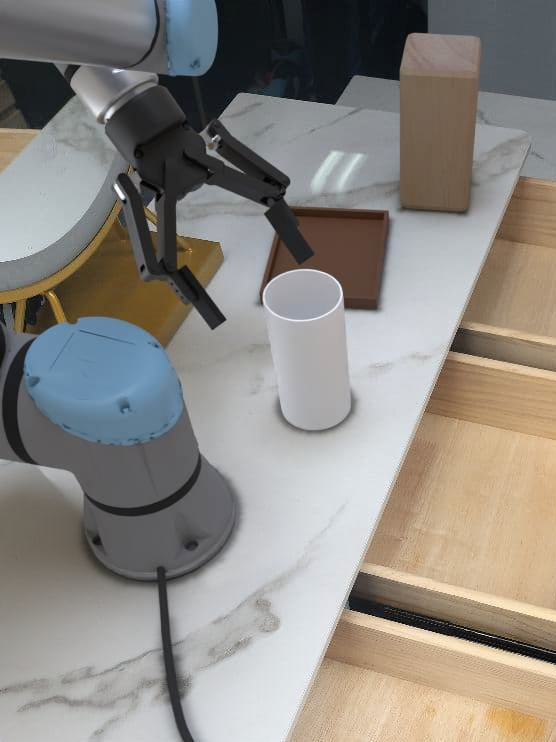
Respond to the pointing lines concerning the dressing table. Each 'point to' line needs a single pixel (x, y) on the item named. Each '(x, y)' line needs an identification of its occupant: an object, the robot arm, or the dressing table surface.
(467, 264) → the dressing table surface
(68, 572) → the dressing table surface
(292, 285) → the cup
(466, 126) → the wooden block
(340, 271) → the tray
